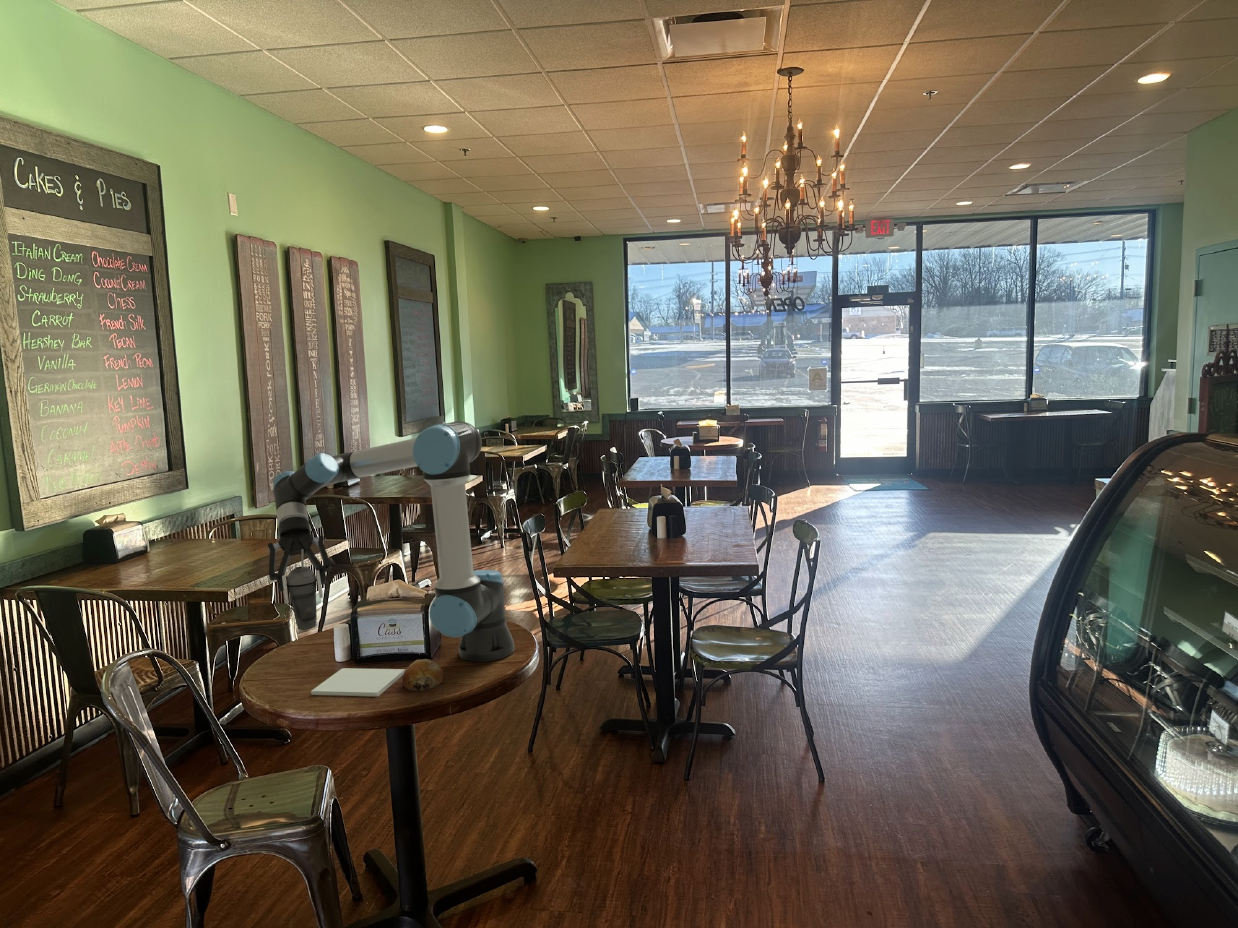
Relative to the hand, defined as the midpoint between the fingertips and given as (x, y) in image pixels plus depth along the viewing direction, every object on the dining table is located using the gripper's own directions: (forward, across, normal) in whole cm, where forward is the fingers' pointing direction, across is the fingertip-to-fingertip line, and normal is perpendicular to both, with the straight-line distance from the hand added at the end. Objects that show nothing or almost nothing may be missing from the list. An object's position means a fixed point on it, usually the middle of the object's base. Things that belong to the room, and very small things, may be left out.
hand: (304, 597), depth 203 cm
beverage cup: (+3, 0, -9) cm, 10 cm away
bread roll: (+24, -25, -12) cm, 37 cm away
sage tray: (+17, -10, -18) cm, 27 cm away
